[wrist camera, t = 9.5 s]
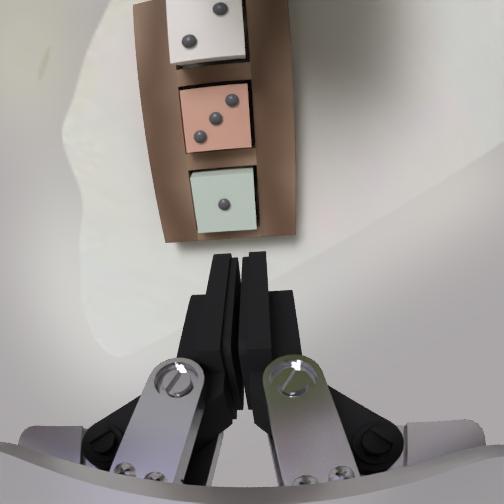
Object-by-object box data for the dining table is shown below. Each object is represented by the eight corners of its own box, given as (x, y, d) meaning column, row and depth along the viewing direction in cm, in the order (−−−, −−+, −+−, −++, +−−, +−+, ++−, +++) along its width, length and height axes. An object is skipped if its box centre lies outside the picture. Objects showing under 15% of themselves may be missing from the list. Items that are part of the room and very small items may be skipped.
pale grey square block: (252, 162, 24) (253, 173, 22) (255, 213, 27) (256, 230, 24) (196, 166, 24) (189, 178, 22) (202, 217, 27) (198, 234, 24)
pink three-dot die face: (247, 83, 21) (247, 83, 18) (250, 139, 23) (251, 147, 21) (187, 89, 21) (179, 90, 18) (193, 144, 24) (186, 153, 21)
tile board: (283, -7, 17) (286, -14, 15) (292, 223, 27) (295, 234, 26) (141, 9, 17) (133, 5, 15) (170, 231, 28) (165, 242, 26)
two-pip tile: (241, 1, 16) (240, -11, 13) (245, 58, 18) (245, 54, 16) (175, 9, 16) (165, -1, 13) (180, 65, 18) (169, 63, 16)
